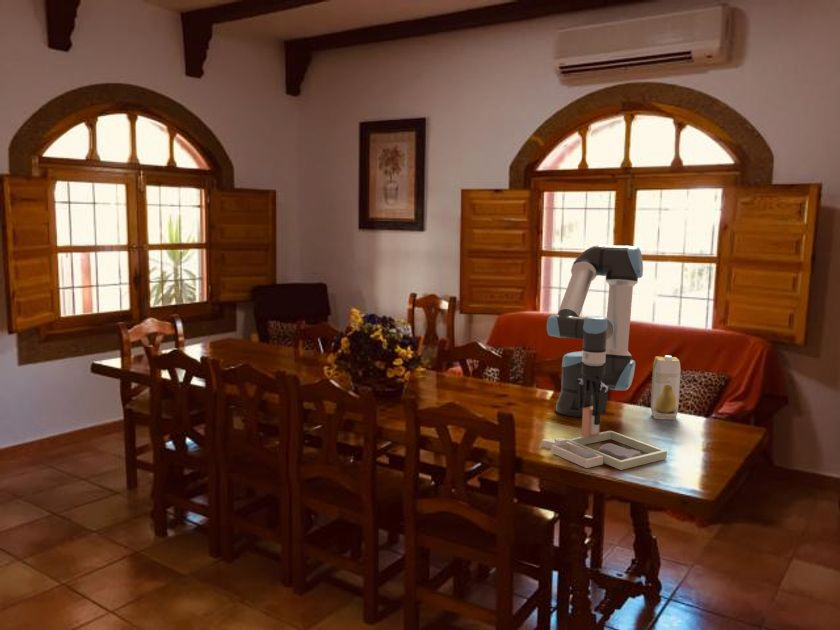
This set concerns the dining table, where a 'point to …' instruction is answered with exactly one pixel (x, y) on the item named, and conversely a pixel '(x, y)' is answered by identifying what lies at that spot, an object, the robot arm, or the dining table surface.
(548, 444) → the snapped post
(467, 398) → the dining table surface
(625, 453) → the stone block
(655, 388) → the juice carton
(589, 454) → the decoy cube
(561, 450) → the tray
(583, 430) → the shallow white tray
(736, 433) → the dining table surface
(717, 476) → the dining table surface
